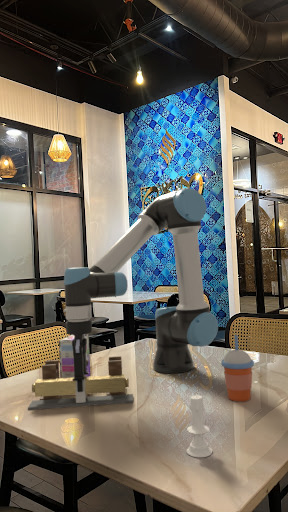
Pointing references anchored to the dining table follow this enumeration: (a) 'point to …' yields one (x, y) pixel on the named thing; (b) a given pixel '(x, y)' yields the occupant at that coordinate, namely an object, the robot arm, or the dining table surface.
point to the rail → (68, 386)
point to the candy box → (71, 357)
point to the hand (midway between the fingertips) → (81, 399)
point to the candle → (198, 429)
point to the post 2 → (115, 371)
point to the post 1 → (50, 375)
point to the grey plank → (89, 401)
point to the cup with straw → (238, 373)
